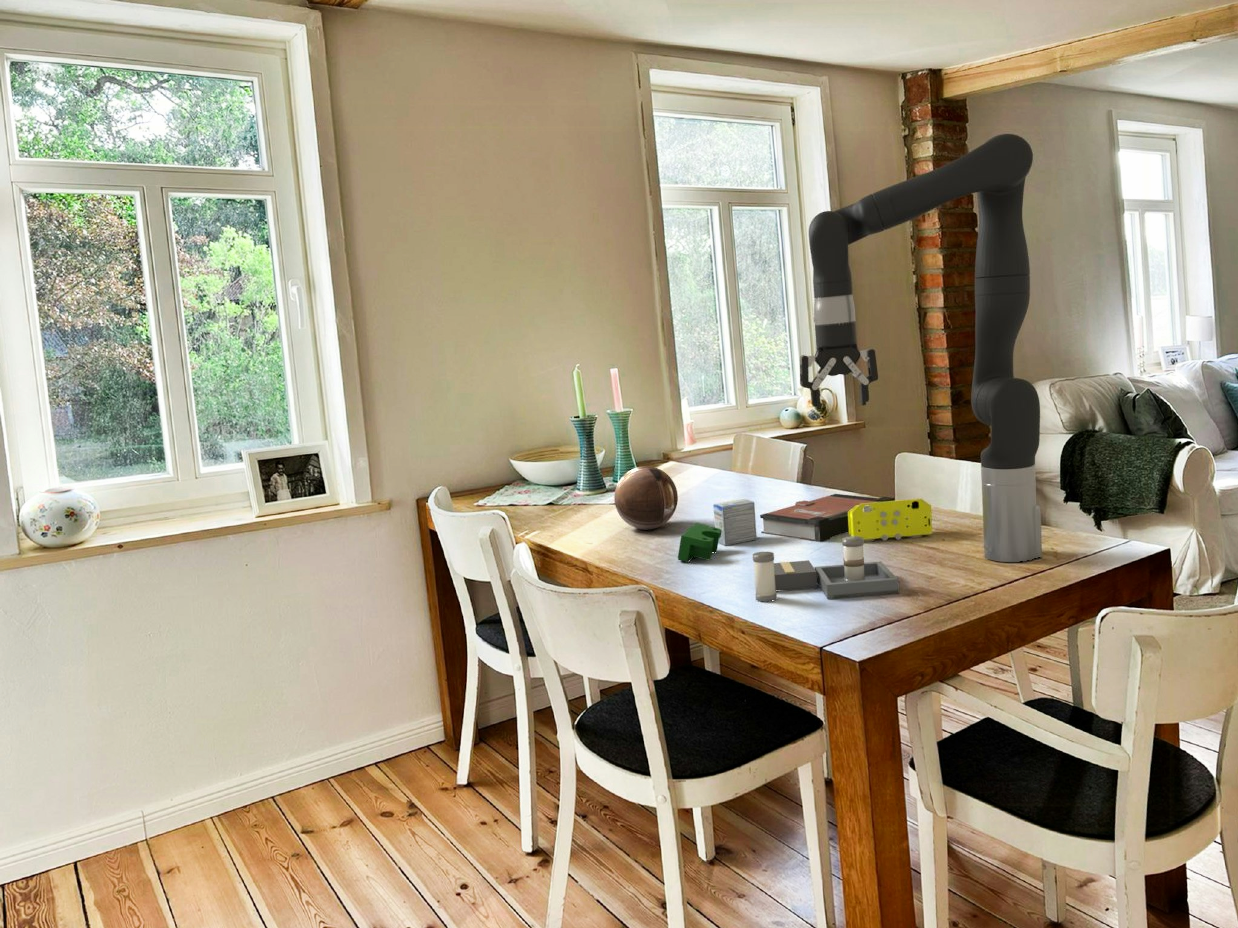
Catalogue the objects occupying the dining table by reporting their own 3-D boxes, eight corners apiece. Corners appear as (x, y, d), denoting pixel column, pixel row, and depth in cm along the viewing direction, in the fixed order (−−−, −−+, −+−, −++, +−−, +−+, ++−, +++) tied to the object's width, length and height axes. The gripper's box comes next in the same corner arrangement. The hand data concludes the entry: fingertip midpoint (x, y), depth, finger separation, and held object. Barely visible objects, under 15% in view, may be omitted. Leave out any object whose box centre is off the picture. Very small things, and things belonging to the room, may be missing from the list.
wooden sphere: (607, 529, 238) (601, 468, 236) (662, 518, 244) (656, 459, 242) (634, 539, 225) (628, 474, 222) (691, 528, 231) (686, 465, 228)
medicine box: (747, 536, 217) (744, 498, 216) (757, 540, 213) (754, 501, 212) (715, 542, 215) (712, 503, 213) (725, 546, 210) (722, 506, 209)
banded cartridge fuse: (862, 579, 174) (860, 535, 173) (867, 585, 171) (865, 540, 170) (842, 581, 175) (840, 537, 173) (846, 586, 171) (844, 541, 170)
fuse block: (809, 576, 182) (808, 559, 181) (817, 587, 174) (816, 570, 174) (760, 580, 182) (759, 563, 182) (766, 592, 174) (765, 574, 174)
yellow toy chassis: (854, 544, 203) (852, 505, 201) (849, 538, 208) (846, 499, 207) (933, 538, 202) (931, 498, 201) (925, 532, 207) (923, 493, 206)
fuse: (775, 595, 172) (772, 550, 171) (778, 601, 169) (775, 555, 167) (754, 596, 172) (751, 552, 171) (757, 602, 169) (753, 557, 167)
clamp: (705, 581, 201) (707, 547, 195) (677, 574, 202) (678, 540, 197) (722, 546, 210) (724, 512, 205) (695, 540, 212) (696, 506, 206)
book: (834, 511, 236) (833, 491, 235) (895, 519, 223) (894, 497, 222) (759, 534, 220) (757, 512, 219) (820, 544, 207) (818, 520, 206)
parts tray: (881, 574, 178) (880, 561, 178) (898, 593, 167) (898, 579, 166) (815, 580, 179) (814, 566, 179) (827, 599, 167) (826, 584, 167)
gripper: (800, 325, 181) (806, 412, 183) (878, 317, 180) (883, 405, 183) (793, 324, 188) (799, 408, 191) (868, 317, 188) (873, 401, 190)
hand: (840, 407), depth 187 cm, fingers open, 8 cm apart
